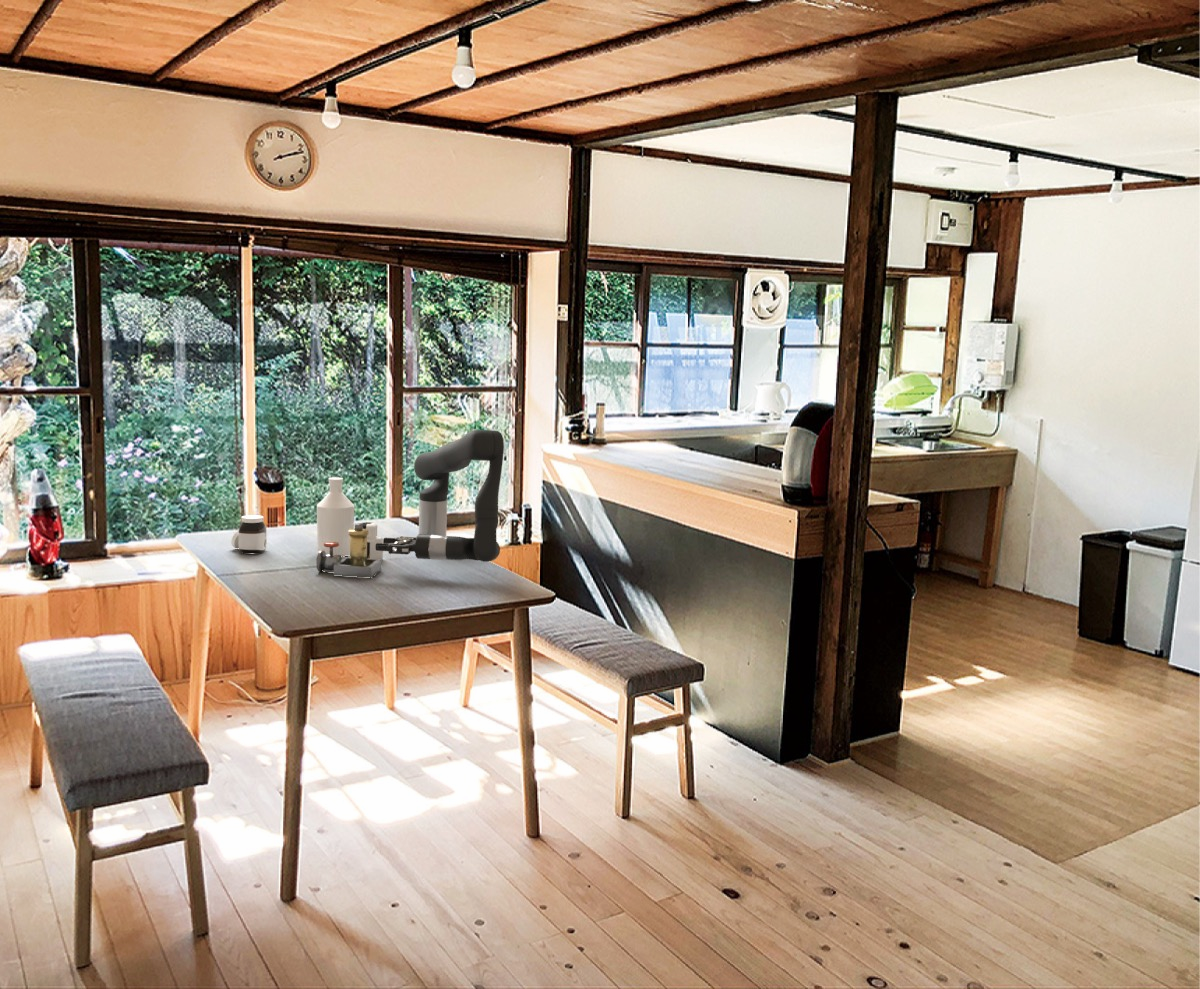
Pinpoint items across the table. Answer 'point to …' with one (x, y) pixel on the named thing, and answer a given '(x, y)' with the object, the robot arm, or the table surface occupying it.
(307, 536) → the table surface
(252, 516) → the spread jar
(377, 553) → the medicine bottle
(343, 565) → the grey piece
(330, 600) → the table surface
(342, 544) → the bottle
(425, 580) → the table surface
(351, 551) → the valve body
